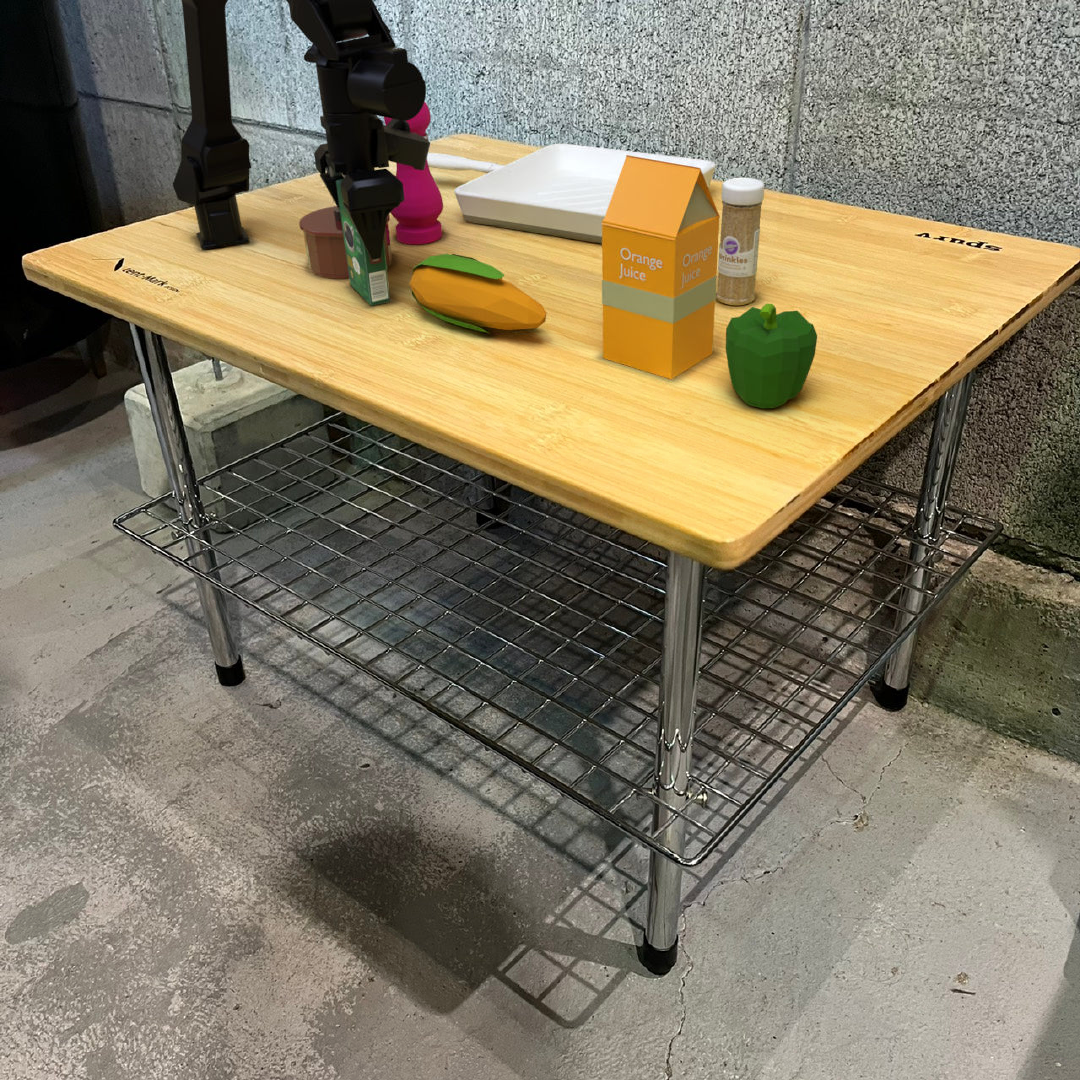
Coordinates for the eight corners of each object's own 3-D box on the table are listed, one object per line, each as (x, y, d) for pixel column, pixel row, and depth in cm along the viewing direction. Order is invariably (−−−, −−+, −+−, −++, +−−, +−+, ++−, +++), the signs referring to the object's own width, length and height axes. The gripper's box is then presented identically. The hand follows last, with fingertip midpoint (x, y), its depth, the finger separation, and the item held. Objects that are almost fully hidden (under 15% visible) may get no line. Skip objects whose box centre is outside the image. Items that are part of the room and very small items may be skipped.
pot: (302, 258, 144) (295, 216, 141) (380, 245, 147) (375, 204, 144) (318, 284, 136) (311, 241, 133) (400, 270, 139) (396, 227, 136)
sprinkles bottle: (711, 304, 125) (717, 186, 118) (721, 290, 129) (727, 174, 121) (751, 308, 124) (759, 189, 116) (759, 294, 127) (768, 177, 120)
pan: (628, 253, 140) (628, 215, 138) (360, 209, 161) (355, 175, 158) (720, 193, 160) (721, 159, 157) (470, 161, 181) (468, 129, 178)
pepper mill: (437, 247, 146) (422, 88, 134) (386, 245, 147) (367, 88, 136) (451, 229, 151) (438, 76, 140) (402, 228, 153) (385, 76, 142)
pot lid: (292, 221, 142) (289, 203, 140) (378, 208, 145) (375, 190, 143) (310, 247, 133) (307, 228, 131) (400, 232, 136) (398, 214, 135)
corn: (435, 233, 126) (568, 268, 115) (445, 294, 131) (573, 333, 120) (389, 255, 122) (521, 294, 111) (400, 318, 127) (528, 361, 115)
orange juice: (671, 379, 109) (677, 178, 98) (601, 358, 114) (600, 163, 103) (714, 353, 114) (724, 158, 103) (645, 333, 119) (648, 145, 108)
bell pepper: (756, 370, 110) (764, 275, 105) (825, 395, 105) (836, 296, 100) (703, 398, 106) (707, 300, 100) (772, 425, 101) (781, 324, 95)
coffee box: (393, 303, 130) (380, 192, 122) (370, 308, 129) (355, 196, 121) (371, 282, 136) (357, 175, 128) (349, 286, 135) (334, 179, 127)
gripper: (443, 116, 115) (455, 260, 124) (397, 84, 130) (411, 214, 138) (339, 129, 112) (359, 276, 121) (304, 95, 126) (324, 228, 135)
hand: (366, 246), depth 129 cm, fingers open, 9 cm apart
